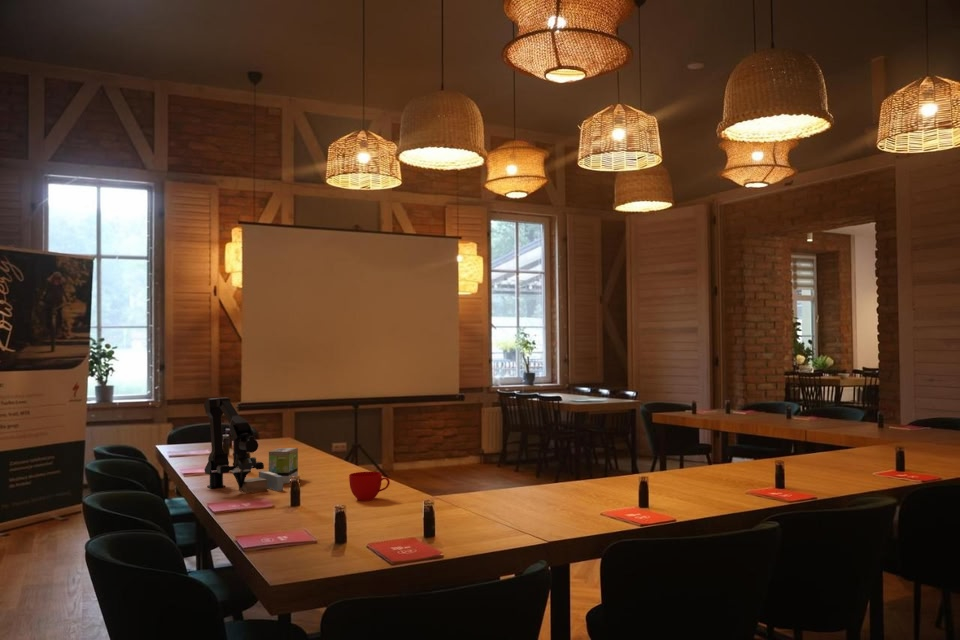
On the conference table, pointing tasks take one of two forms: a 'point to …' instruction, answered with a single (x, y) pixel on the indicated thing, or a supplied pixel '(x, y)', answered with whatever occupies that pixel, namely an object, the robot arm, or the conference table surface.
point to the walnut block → (254, 485)
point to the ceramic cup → (366, 485)
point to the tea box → (284, 462)
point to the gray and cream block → (272, 480)
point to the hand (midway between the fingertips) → (240, 487)
